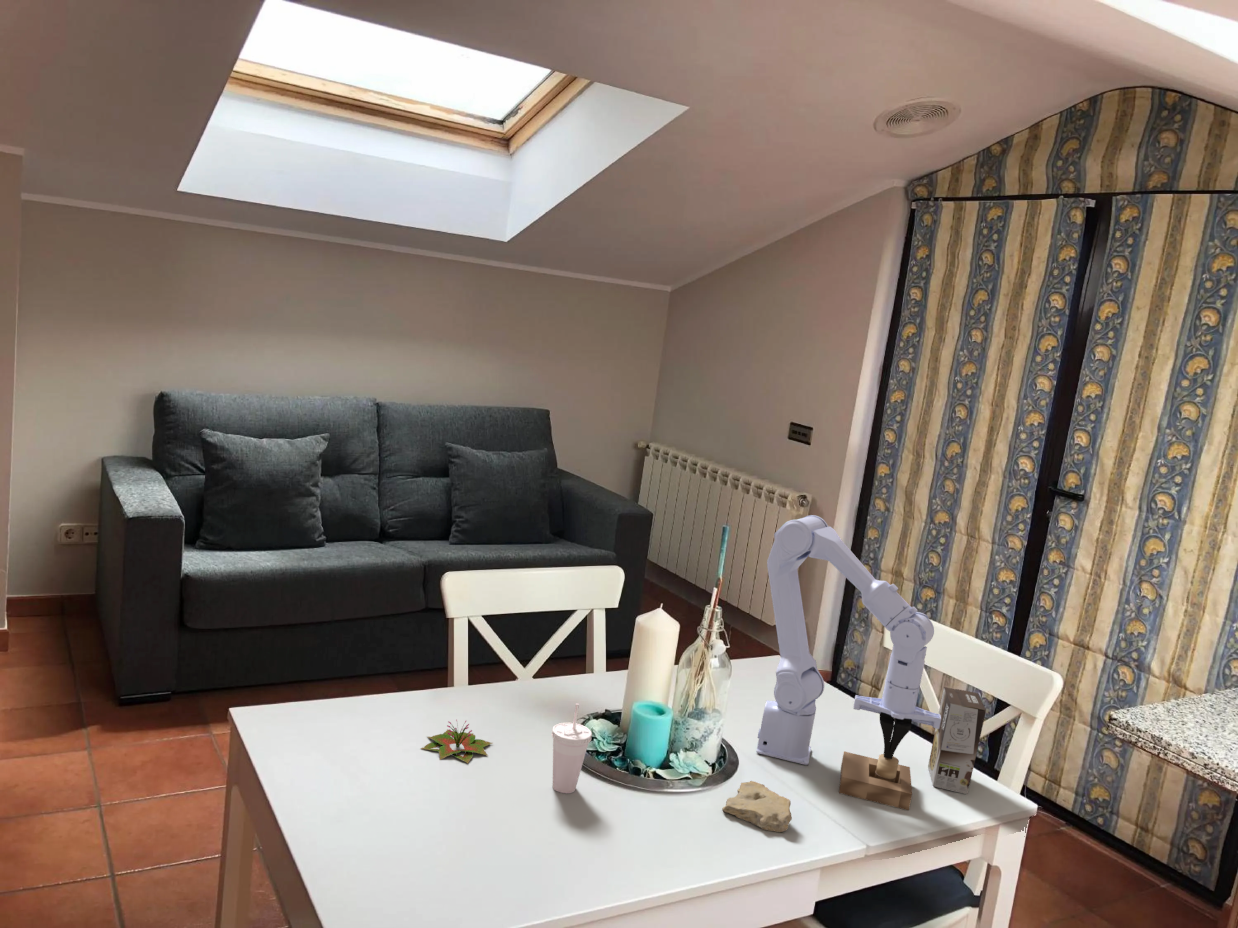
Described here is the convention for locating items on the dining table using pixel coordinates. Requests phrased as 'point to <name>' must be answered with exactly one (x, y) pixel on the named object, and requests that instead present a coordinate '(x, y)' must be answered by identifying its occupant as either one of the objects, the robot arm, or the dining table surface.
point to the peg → (886, 768)
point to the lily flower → (457, 744)
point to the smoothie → (569, 753)
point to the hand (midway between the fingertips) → (887, 755)
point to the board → (874, 782)
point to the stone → (760, 807)
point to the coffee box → (956, 740)
